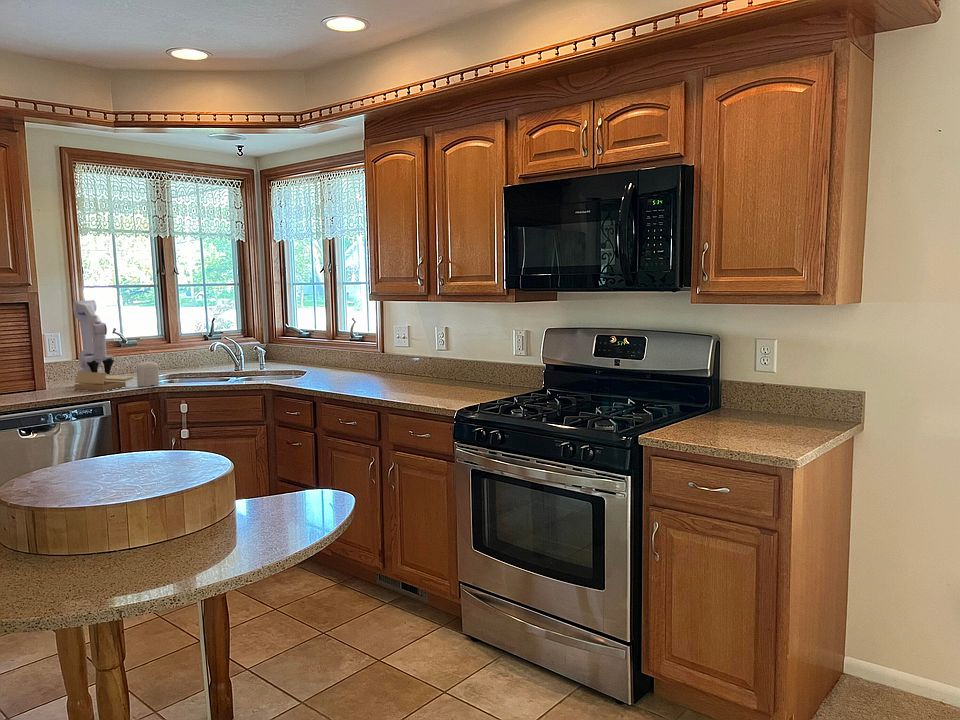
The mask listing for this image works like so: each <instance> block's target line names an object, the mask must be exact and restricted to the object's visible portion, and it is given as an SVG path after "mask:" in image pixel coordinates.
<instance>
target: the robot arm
mask: <svg viewBox="0 0 960 720" xmlns="http://www.w3.org/2000/svg"><path fill="white" fill-rule="evenodd" d="M72 310H73V315H74V318H75V319H78V323H79V327H80V333H81V335H80V336H81V341H82V347H83V349H82V350H81V351H80V352H79V354H78V365H79V367H80V369H79V371H78V372H96V373H100V369H99V368H100V367H102V366H103V368H104V369H103V370H104V373H107V375H110V374H111V369H112V366H113V364H114V362H115V359H114V355H108V354H107V340H106V335H107V333H108V327H107V324H106V323H104V322H103V321H102V320H101V318H100V316H99V315H97V314H96V311H97V302H96V301H95V300H94V299H89V300H88V299H87V300H73V303H72ZM78 384H80V383H78Z"/></svg>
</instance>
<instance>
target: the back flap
mask: <svg viewBox="0 0 960 720" xmlns="http://www.w3.org/2000/svg"><path fill="white" fill-rule="evenodd" d="M132 379H134V376H132V375H131V376H129V375H110V374H107V375H106V378H105V381H115V382H126V381H130V380H132Z"/></svg>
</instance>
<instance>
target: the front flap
mask: <svg viewBox="0 0 960 720" xmlns="http://www.w3.org/2000/svg"><path fill="white" fill-rule="evenodd" d="M106 375H108V374H107V373H105V372H99V373H96V372H79V371H78V372H77V373H76V377H75V378H74V383H75V384H79V383H90V384H103V383H104V381H106V380H105V378H106Z"/></svg>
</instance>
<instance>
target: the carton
mask: <svg viewBox="0 0 960 720" xmlns="http://www.w3.org/2000/svg"><path fill="white" fill-rule="evenodd" d="M73 386H74V391H77V390H88V391H87V392H96V391H106V392H108V391H107V390H111V391H113V390H112V389H116V388H122V387H126V388H127V385H126V381H109V380H105V381H104V383H103V384H90V383H80V384H79V383H75V384H73ZM122 389H123V388H122Z"/></svg>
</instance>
